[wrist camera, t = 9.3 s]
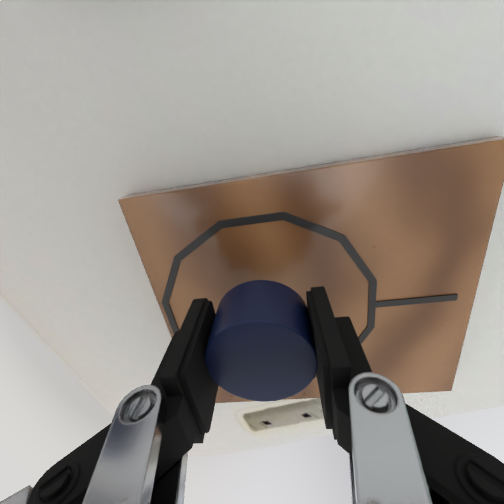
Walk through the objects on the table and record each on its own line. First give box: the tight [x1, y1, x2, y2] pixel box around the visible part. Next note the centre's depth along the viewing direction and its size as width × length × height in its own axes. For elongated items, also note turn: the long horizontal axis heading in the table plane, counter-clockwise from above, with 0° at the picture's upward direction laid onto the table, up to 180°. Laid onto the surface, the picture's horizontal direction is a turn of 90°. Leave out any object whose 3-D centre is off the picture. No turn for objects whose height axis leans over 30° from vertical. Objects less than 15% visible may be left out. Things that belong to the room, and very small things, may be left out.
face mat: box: [118, 137, 504, 403], centre depth 16 cm, size 18×16×1 cm
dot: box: [205, 280, 317, 401], centre depth 10 cm, size 4×4×2 cm
